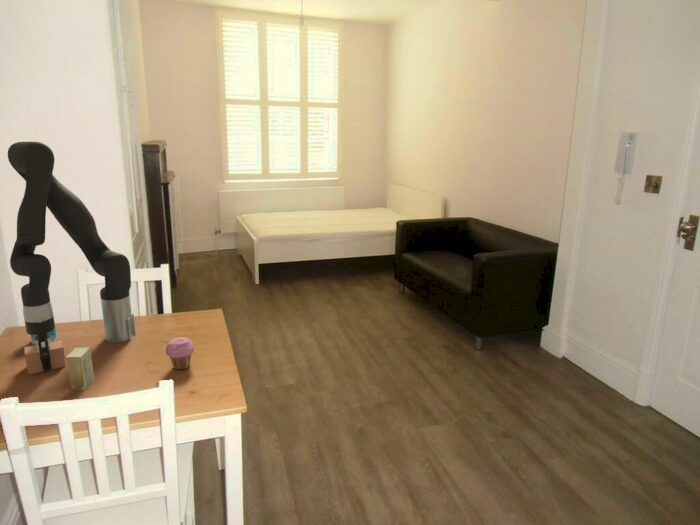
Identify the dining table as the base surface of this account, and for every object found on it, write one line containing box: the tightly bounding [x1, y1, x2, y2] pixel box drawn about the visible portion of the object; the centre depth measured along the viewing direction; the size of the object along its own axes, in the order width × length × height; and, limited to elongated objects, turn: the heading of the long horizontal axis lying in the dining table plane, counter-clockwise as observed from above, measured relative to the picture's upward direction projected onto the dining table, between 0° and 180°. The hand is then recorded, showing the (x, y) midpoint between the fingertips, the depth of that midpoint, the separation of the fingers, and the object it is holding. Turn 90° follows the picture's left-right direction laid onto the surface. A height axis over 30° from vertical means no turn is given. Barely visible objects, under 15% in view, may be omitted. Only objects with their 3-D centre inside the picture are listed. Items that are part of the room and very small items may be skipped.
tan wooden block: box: [24, 339, 67, 375], centre depth 149 cm, size 10×6×8 cm, turn 124°
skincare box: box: [65, 347, 95, 391], centre depth 138 cm, size 6×4×12 cm
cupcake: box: [165, 336, 195, 370], centre depth 153 cm, size 9×9×10 cm
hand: (46, 364), depth 149 cm, fingers open, 8 cm apart
